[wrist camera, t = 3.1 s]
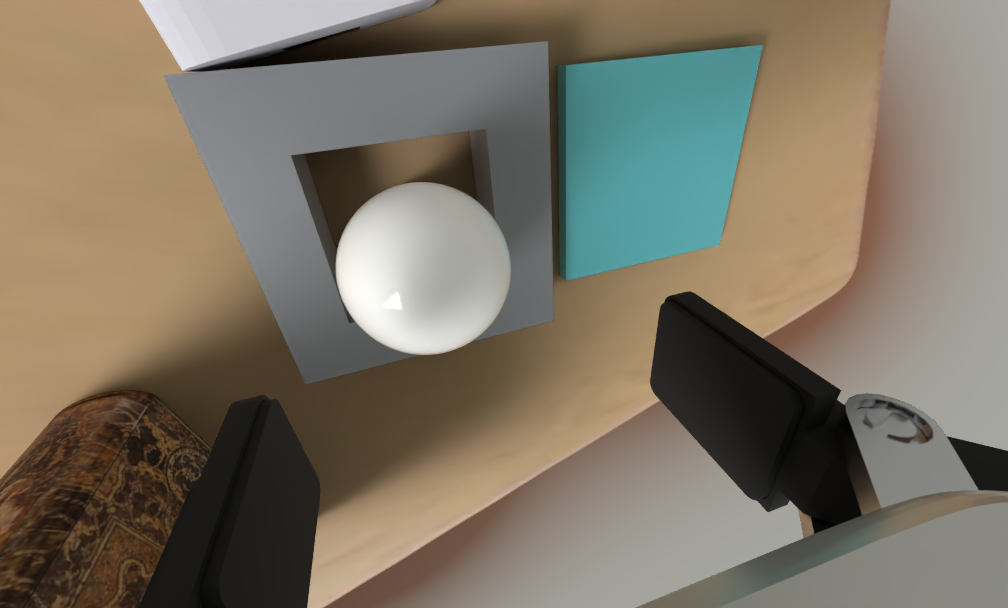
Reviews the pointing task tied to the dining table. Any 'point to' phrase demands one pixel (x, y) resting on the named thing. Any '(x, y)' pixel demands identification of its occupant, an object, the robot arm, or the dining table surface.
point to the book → (95, 503)
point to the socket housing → (364, 121)
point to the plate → (648, 154)
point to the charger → (260, 26)
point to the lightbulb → (423, 268)
